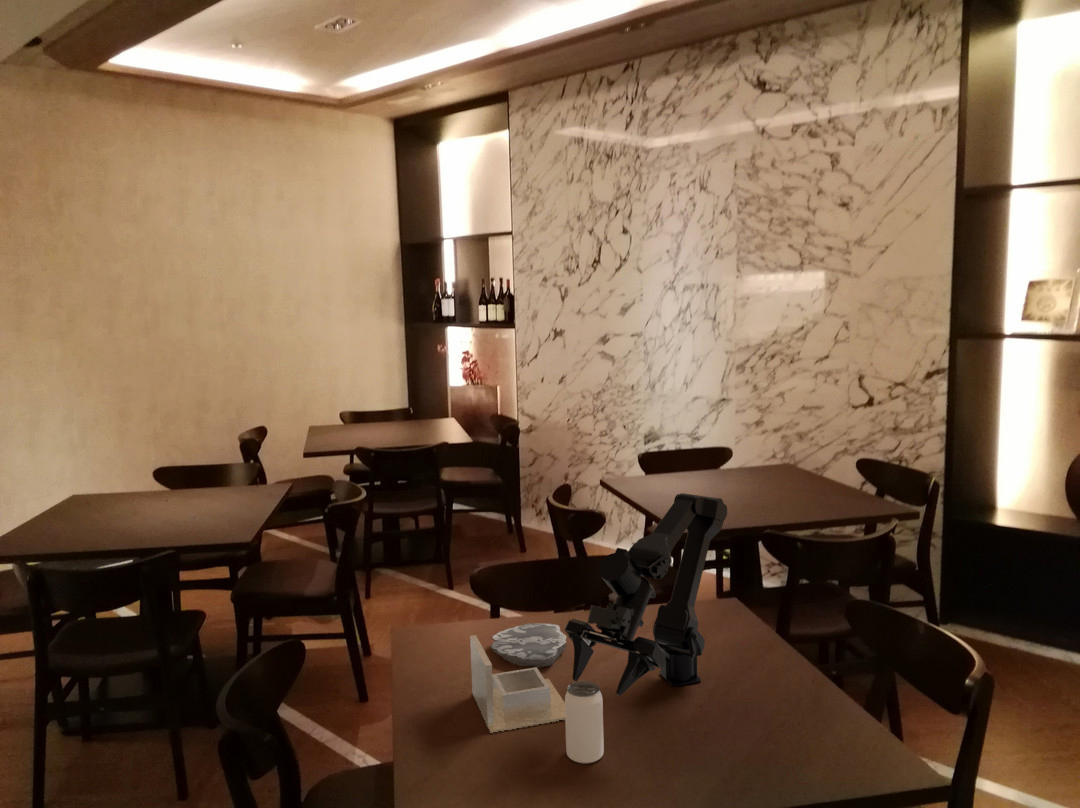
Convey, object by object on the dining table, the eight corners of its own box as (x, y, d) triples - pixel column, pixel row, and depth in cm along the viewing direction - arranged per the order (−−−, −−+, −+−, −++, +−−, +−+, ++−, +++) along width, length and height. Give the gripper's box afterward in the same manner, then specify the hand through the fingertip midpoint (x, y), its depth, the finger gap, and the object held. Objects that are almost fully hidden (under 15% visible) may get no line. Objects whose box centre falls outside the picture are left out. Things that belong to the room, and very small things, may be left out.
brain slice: (495, 635, 190) (495, 623, 189) (567, 634, 189) (566, 622, 188) (486, 673, 170) (486, 660, 170) (566, 672, 169) (565, 659, 169)
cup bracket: (548, 681, 165) (546, 622, 164) (573, 718, 150) (571, 654, 148) (471, 693, 161) (469, 634, 159) (489, 733, 145) (486, 668, 144)
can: (601, 766, 134) (599, 698, 133) (563, 763, 135) (561, 696, 134) (605, 745, 140) (604, 680, 139) (569, 742, 142) (567, 678, 140)
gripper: (568, 576, 148) (532, 654, 140) (657, 596, 136) (622, 683, 129) (593, 604, 155) (560, 680, 147) (679, 626, 143) (648, 709, 136)
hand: (595, 687), depth 140 cm, fingers open, 9 cm apart
